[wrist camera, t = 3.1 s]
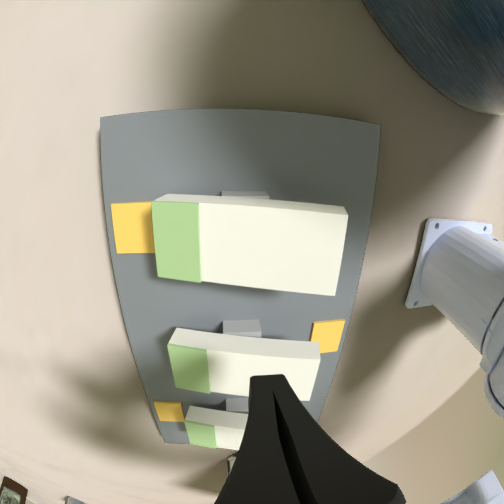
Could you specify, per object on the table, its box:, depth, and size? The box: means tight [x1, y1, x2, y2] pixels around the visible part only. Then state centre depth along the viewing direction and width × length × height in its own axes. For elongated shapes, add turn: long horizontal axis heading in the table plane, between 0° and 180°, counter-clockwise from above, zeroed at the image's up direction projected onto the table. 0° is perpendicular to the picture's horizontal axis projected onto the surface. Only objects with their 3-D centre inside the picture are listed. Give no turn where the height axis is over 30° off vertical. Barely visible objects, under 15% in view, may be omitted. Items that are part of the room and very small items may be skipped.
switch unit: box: [100, 109, 381, 444], centre depth 20 cm, size 16×30×3 cm, turn 178°
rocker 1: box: [151, 194, 348, 296], centre depth 14 cm, size 9×4×2 cm, turn 88°
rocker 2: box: [167, 328, 321, 401], centre depth 17 cm, size 9×4×2 cm, turn 88°
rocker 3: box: [184, 406, 248, 450], centre depth 21 cm, size 9×4×2 cm, turn 88°
